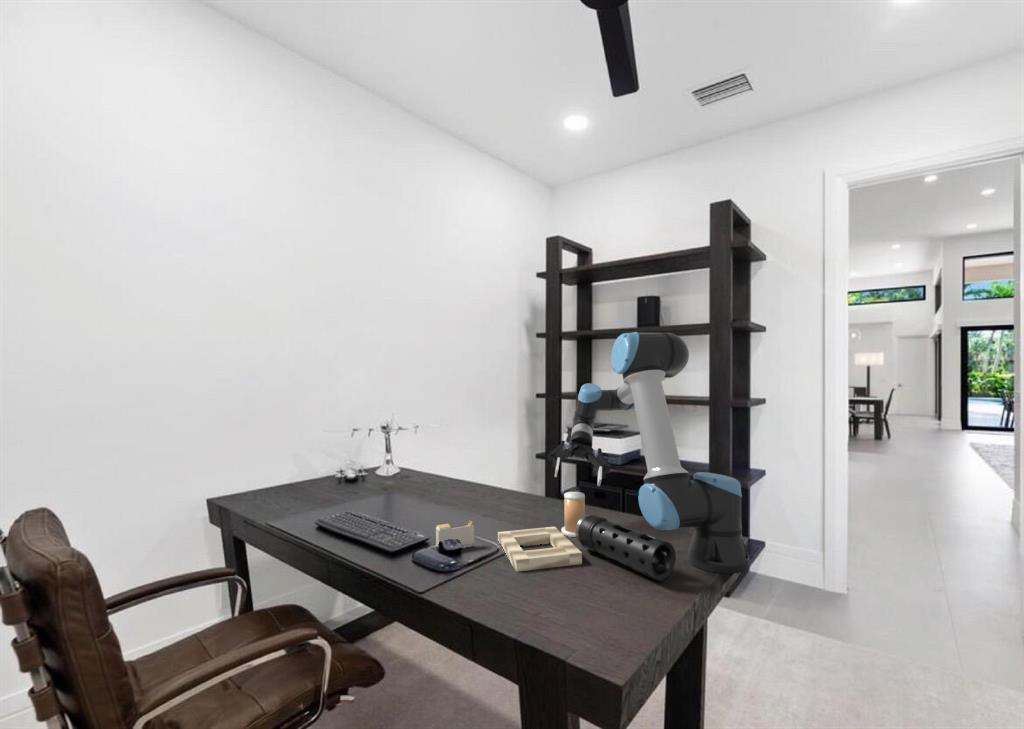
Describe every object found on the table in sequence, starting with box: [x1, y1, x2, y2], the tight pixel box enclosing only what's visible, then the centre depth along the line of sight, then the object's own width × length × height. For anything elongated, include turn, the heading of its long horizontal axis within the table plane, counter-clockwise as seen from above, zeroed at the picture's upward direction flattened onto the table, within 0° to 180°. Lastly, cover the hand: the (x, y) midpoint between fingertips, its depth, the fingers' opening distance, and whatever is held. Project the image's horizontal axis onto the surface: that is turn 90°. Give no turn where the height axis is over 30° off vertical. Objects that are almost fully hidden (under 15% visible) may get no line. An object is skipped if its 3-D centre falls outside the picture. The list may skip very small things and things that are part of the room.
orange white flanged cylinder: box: [560, 491, 586, 538], centre depth 156 cm, size 8×8×12 cm
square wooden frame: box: [497, 526, 583, 573], centre depth 140 cm, size 22×18×3 cm
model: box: [435, 519, 475, 547], centre depth 145 cm, size 3×11×8 cm, turn 114°
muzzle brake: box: [575, 514, 677, 583], centre depth 131 cm, size 10×28×10 cm, turn 33°
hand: (577, 478), depth 154 cm, fingers open, 13 cm apart
